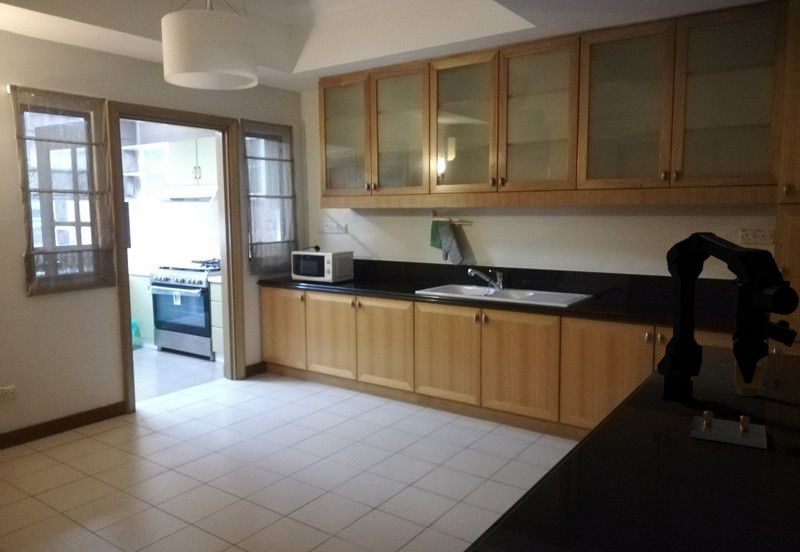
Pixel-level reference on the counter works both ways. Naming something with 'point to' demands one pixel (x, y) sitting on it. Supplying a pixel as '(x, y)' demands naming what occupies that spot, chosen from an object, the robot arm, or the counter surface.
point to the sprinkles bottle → (746, 391)
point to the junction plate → (729, 431)
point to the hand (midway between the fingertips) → (747, 380)
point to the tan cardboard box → (756, 379)
